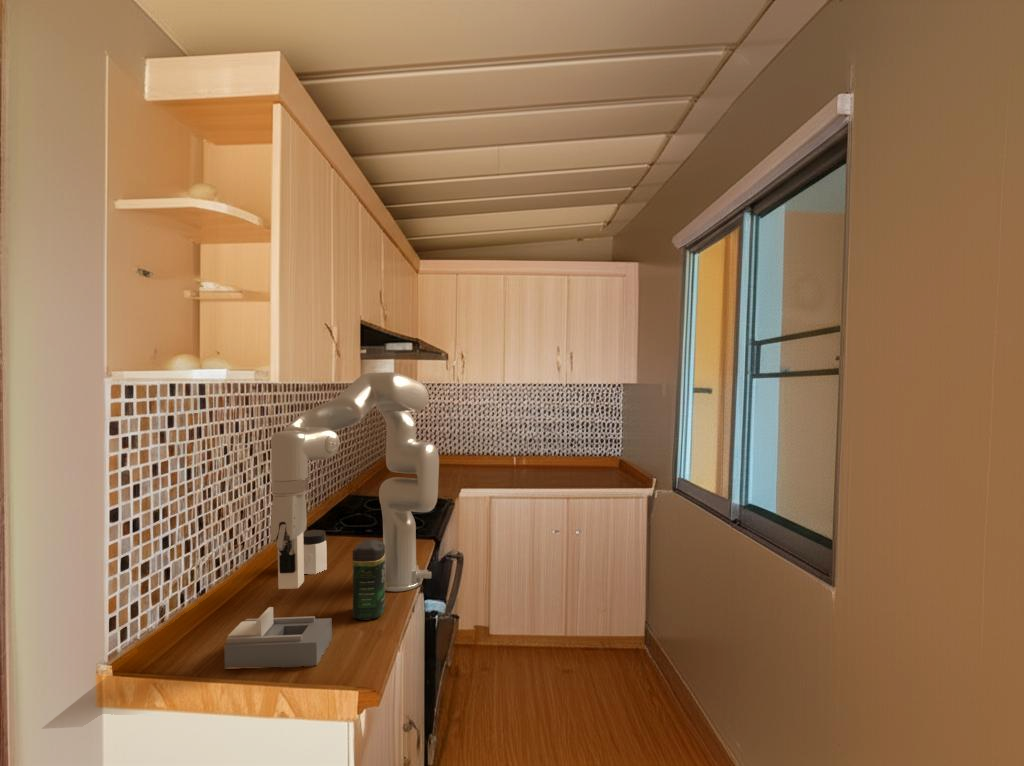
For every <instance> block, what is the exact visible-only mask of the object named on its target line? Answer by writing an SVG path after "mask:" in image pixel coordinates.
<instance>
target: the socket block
mask: <svg viewBox="0 0 1024 766" xmlns="http://www.w3.org/2000/svg"><path fill="white" fill-rule="evenodd" d="M258 618H259V617H258ZM258 618H246V619H245V620H244V621H256V620H257V619H258ZM332 619H333V618H331V617H329V618H327V617H325V618H316V616H314V615H313V616H312V615H311V616H291V617H290V616H289V617H273V623H274V624H273V625H272V626H271V627H270V628H269V630H268V631H267V632H266V633H265V634H264V635H263V636H253V637H228V636H227V638H226V644H225V645H224V647H223V649H224V669H225V668H228V667H281V668H299V667H301V666H304V667H317V666H318V665H317V664H319V663H320V661H321V660H322V658H321V657H323V656H324V654H325V653H326V651H325V650H327V649H326V648H328V647H329V646H330V644H331V642H332V640H333V629H332V628H333V624H332V621H333V620H332ZM330 641H331V642H330ZM329 643H330V644H329ZM322 655H323V656H322ZM318 662H319V663H318ZM314 665H315V666H314ZM316 665H317V666H316Z"/></svg>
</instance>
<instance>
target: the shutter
mask: <svg viewBox="0 0 1024 766" xmlns="http://www.w3.org/2000/svg"><path fill="white" fill-rule="evenodd" d="M273 618H274V606H273V607H272V606H269V607H267V609H266V610H265V611H264V612H263V613H261V615H259V617H258V619H257V618H256V619H257V620H256V621H245V620H244V621H241V622H239V624H238V625H236V626H235V628H234V629H232V631H231V632H230V633H229V634H228V635H227V638H228V637H253V636H263V635H264V634H265V633H266V632H267V631H268V630H269V628H270V627H271V626H272V625H273V624H274V623H273Z"/></svg>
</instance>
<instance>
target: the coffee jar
mask: <svg viewBox="0 0 1024 766" xmlns="http://www.w3.org/2000/svg"><path fill="white" fill-rule="evenodd" d="M385 609H386V591H385V545H384V543H383V541H381V540H380V539H364V540H363V541H361V542H359V543H358V544H356V546H355V547H354V548H353V550H352V617H353V618H354V619H358V620H361V621H370V620H372V619H376V618H380V617H381V616H382V615H383V613H384V612H385Z"/></svg>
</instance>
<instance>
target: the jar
mask: <svg viewBox="0 0 1024 766" xmlns="http://www.w3.org/2000/svg"><path fill="white" fill-rule="evenodd" d="M303 540H304V574H308V575H317V573H318V574H320V573H322V571H323V572H325V571H327V570H328V564H327V563H328V560H327V559H328V558H327V557H328V554H327V552H328V551H327V548H328V547H327V540H326V531H325V530H322V529H311V530H305V531H304V532H303ZM324 570H325V571H324ZM319 572H320V573H319Z"/></svg>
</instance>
